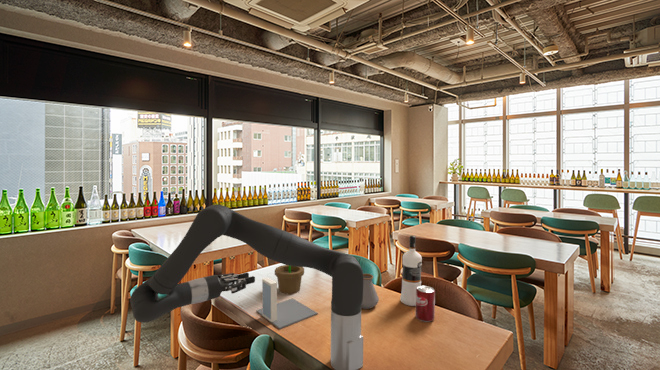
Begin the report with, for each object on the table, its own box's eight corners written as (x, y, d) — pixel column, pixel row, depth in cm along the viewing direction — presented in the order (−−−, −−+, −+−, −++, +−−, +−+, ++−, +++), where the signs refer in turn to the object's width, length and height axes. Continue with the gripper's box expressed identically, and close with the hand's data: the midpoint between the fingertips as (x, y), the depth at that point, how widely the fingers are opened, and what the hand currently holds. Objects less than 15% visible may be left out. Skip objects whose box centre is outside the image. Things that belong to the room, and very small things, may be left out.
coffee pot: (382, 303, 138) (383, 270, 137) (372, 313, 128) (372, 278, 127) (341, 292, 149) (341, 261, 148) (328, 301, 139) (328, 268, 138)
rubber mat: (317, 314, 127) (317, 312, 127) (279, 329, 115) (279, 327, 115) (292, 299, 140) (292, 298, 140) (256, 311, 129) (256, 310, 129)
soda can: (421, 323, 120) (422, 293, 119) (411, 314, 127) (412, 286, 126) (438, 321, 122) (439, 291, 121) (427, 312, 129) (428, 284, 128)
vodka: (410, 296, 145) (411, 232, 143) (426, 303, 138) (428, 236, 136) (395, 300, 140) (397, 235, 138) (411, 308, 133) (413, 239, 130)
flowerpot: (269, 293, 147) (269, 231, 145) (282, 282, 160) (282, 225, 158) (297, 297, 142) (297, 233, 140) (308, 286, 156) (308, 227, 154)
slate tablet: (276, 320, 121) (276, 282, 120) (271, 322, 119) (271, 284, 118) (267, 313, 126) (267, 277, 125) (262, 315, 124) (262, 278, 123)
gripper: (211, 284, 96) (260, 272, 107) (195, 272, 107) (242, 262, 118) (211, 308, 97) (261, 293, 108) (196, 293, 107) (242, 281, 119)
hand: (251, 277), depth 113 cm, fingers open, 4 cm apart
